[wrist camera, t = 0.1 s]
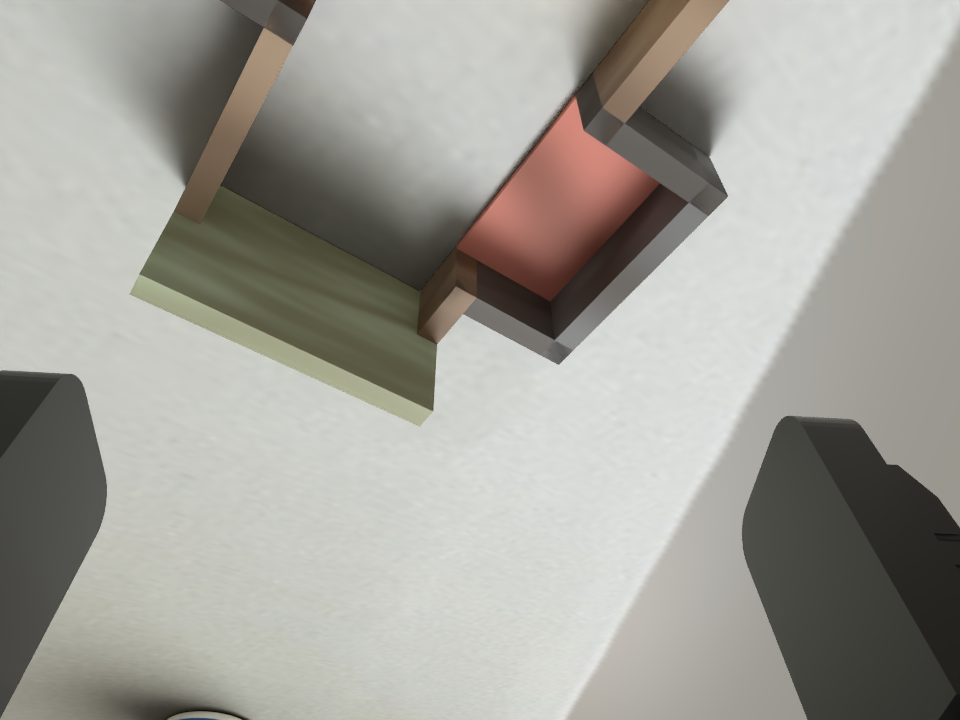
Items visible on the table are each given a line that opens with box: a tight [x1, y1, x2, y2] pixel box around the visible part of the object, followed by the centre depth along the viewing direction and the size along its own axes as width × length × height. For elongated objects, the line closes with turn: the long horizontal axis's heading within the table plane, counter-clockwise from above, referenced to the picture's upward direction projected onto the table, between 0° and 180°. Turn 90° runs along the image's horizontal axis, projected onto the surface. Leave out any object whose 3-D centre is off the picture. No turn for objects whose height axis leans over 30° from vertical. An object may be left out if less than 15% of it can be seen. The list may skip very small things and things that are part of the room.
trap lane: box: [130, 0, 729, 426], centre depth 24 cm, size 28×22×7 cm
